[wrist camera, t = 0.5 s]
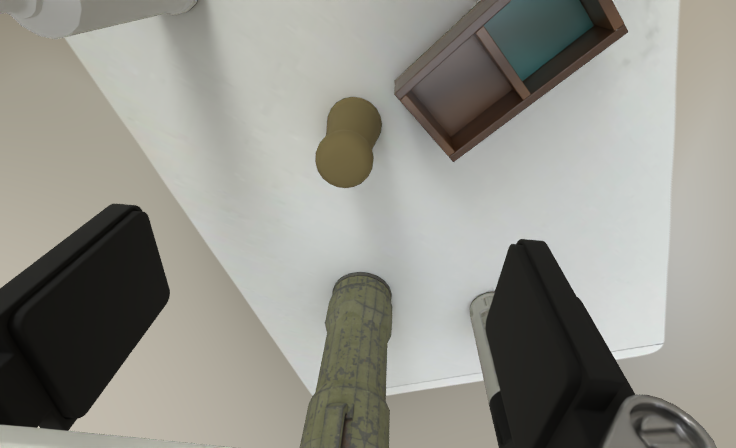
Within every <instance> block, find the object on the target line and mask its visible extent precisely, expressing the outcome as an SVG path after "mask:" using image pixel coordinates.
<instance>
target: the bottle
mask: <svg viewBox="0 0 736 448" xmlns="http://www.w3.org/2000/svg"><path fill="white" fill-rule="evenodd" d="M196 3H197V0H0V14H3V13H7V14H9V15H11V16H12V17H13V18H14V19H15V20H16V21H17V22H18V23H19V24H20V25H21V26H23V27H24V28H26V29H28V30H30V31H31V32H33V33H35V34H37V35H39V36H42V37H47V38H52V39H59V38H63V37H68V36H72V35H76V34H80V33H85V32H89V31H93V30H97V29H102V28H106V27H110V26H114V25H119V24H123V23H127V22H131V21H136V20H140V19H144V18H149V17H153V16H157V15H161V14H170V15H177V14H181V13H185V12H188V11H189V10H190V9H191V8H192V7H193V6H194V5H195V4H196Z"/></svg>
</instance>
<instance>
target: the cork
mask: <svg viewBox="0 0 736 448" xmlns="http://www.w3.org/2000/svg"><path fill="white" fill-rule="evenodd" d="M381 127H382V123H381V117H380V115H379V113H378V111H377V109H376V108H375V107H374V106H373V105H372V104H371V103H370V102H368V101H366V100H364V99H362V98H357V97H349V98H344V99H342V100H340V101H339V102H337V103H336V104H335V105H334V106H333V107H332V108H331V110H330V112H329V115H328V119H327V132H326V137H325V138H324V139H323V140H322V141H321V142H320V144H319V146H318V148H317V151H316V160H315V161H316V166H317V169H318V172H319V173H320V175H321V176H322V178H323V179H324V180H326V181H327V182H328V183H329V184H332V185H334V186H336V187H341V188H349V187H354V186H357V185H359V184H361V183H362V182H363V181H364V180H365V179H366V178H367V177H368V176H369V174H370V172H371V170H372V166H373V153H372V149H373V147H374V145H375V143H376V141H377V139H378V137H379V135H380V133H381Z"/></svg>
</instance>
